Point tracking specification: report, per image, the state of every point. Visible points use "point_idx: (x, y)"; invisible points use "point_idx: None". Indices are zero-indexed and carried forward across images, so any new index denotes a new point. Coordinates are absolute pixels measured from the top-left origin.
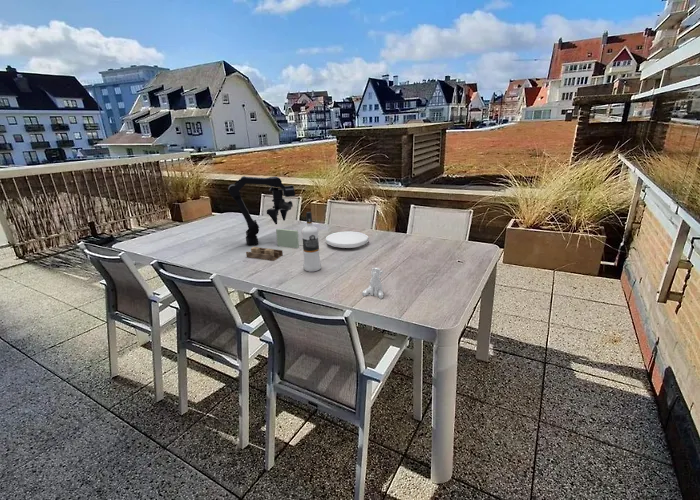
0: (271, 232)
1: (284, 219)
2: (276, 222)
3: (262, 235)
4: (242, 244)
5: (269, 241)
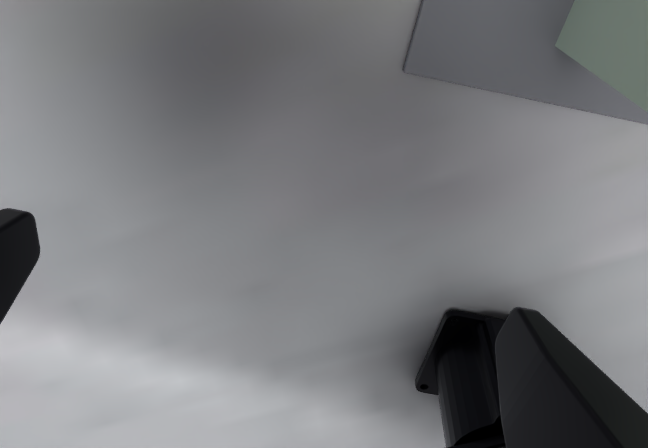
0: (12, 323)
1: (9, 238)
2: (585, 360)
3: (141, 368)
4: (438, 433)
5: (322, 248)
